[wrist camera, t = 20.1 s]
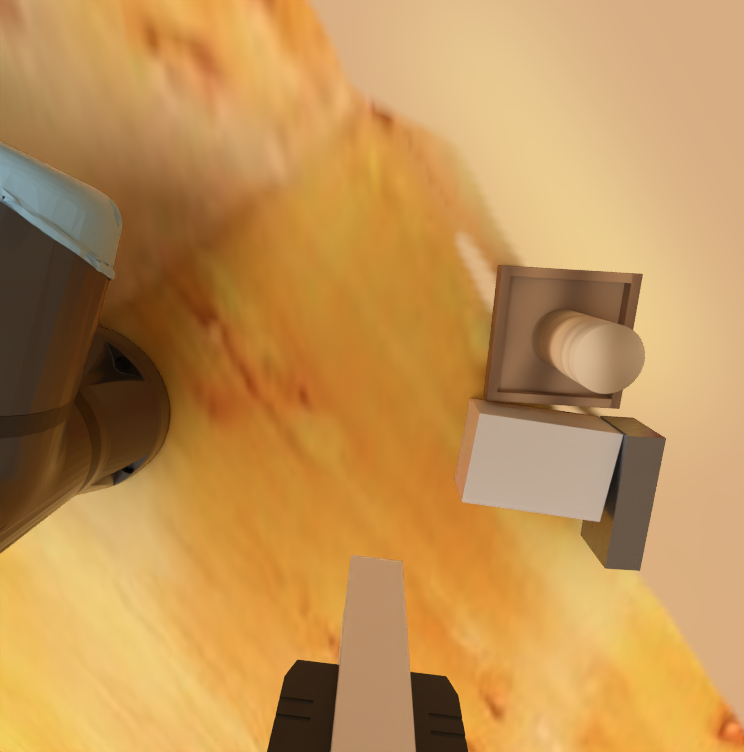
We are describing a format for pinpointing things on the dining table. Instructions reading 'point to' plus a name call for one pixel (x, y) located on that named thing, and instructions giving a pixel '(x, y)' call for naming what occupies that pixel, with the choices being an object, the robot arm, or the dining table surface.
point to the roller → (589, 350)
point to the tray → (524, 310)
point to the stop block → (627, 497)
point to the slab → (536, 460)
